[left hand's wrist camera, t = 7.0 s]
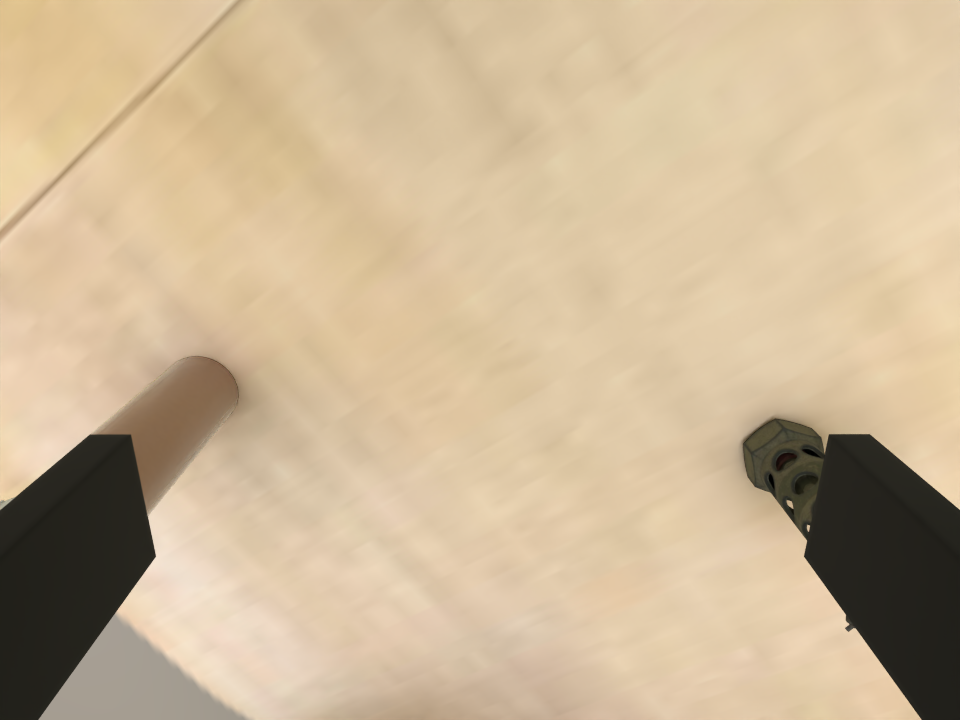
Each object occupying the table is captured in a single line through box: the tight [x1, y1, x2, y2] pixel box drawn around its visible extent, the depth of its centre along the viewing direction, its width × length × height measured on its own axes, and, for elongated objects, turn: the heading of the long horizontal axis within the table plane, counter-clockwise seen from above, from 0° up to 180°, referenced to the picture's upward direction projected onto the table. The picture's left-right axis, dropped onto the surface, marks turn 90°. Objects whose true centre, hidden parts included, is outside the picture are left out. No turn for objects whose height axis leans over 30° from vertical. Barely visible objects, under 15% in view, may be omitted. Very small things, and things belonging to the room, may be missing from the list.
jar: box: [91, 357, 238, 516], centre depth 34 cm, size 5×5×18 cm
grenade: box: [743, 419, 855, 632], centre depth 37 cm, size 9×6×15 cm, turn 134°
